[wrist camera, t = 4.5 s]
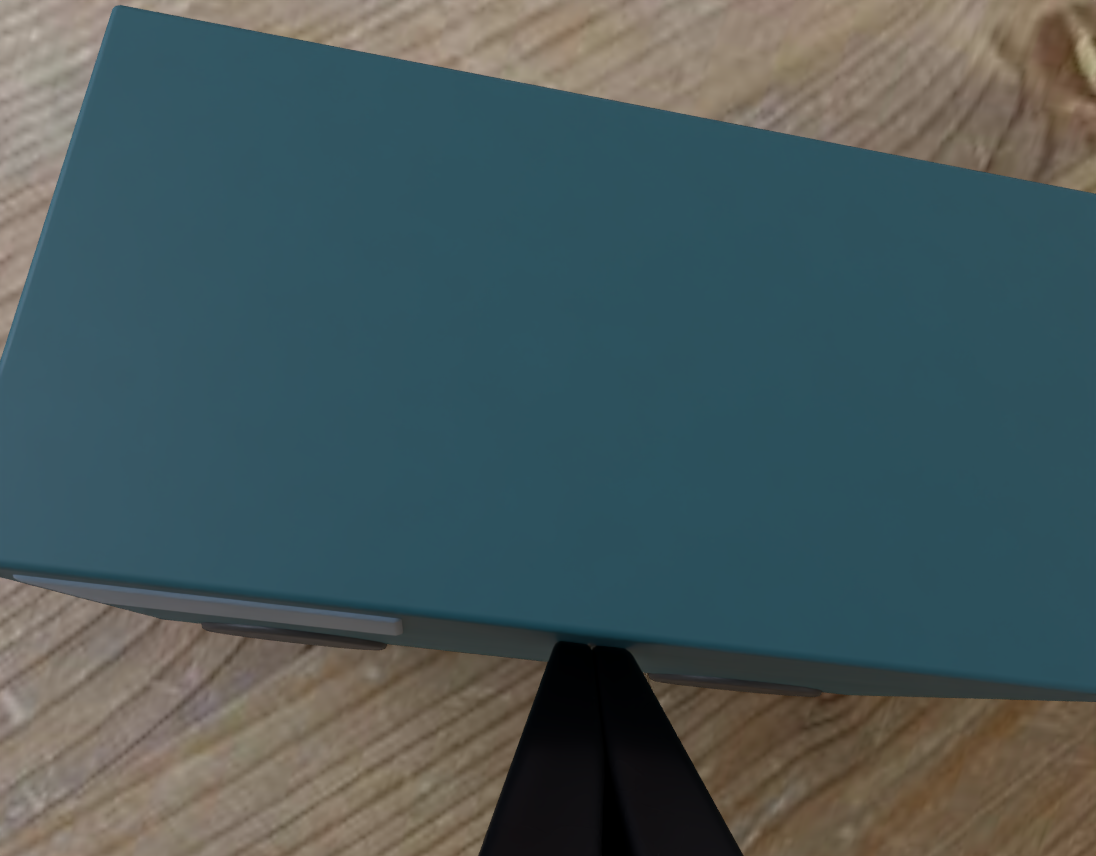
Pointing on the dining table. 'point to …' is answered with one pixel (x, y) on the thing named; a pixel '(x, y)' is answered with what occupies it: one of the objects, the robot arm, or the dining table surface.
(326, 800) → the dining table surface
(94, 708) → the dining table surface
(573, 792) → the robot arm
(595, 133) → the toy van
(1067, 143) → the dining table surface
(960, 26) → the dining table surface
